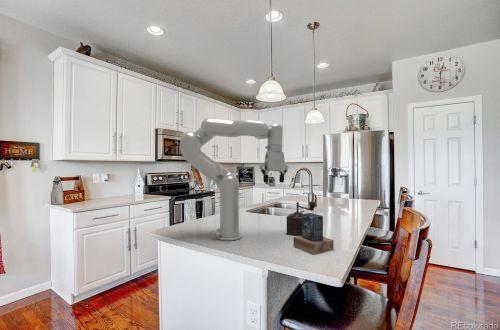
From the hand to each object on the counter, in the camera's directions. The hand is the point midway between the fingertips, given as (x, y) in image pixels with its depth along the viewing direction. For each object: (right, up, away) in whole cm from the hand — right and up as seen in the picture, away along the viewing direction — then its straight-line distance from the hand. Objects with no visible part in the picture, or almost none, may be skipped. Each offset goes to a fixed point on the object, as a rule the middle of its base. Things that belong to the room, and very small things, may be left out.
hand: (273, 182), depth 128 cm
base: (+15, -27, -18) cm, 36 cm away
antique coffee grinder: (+16, -28, +5) cm, 32 cm away
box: (+15, -24, -18) cm, 33 cm away
